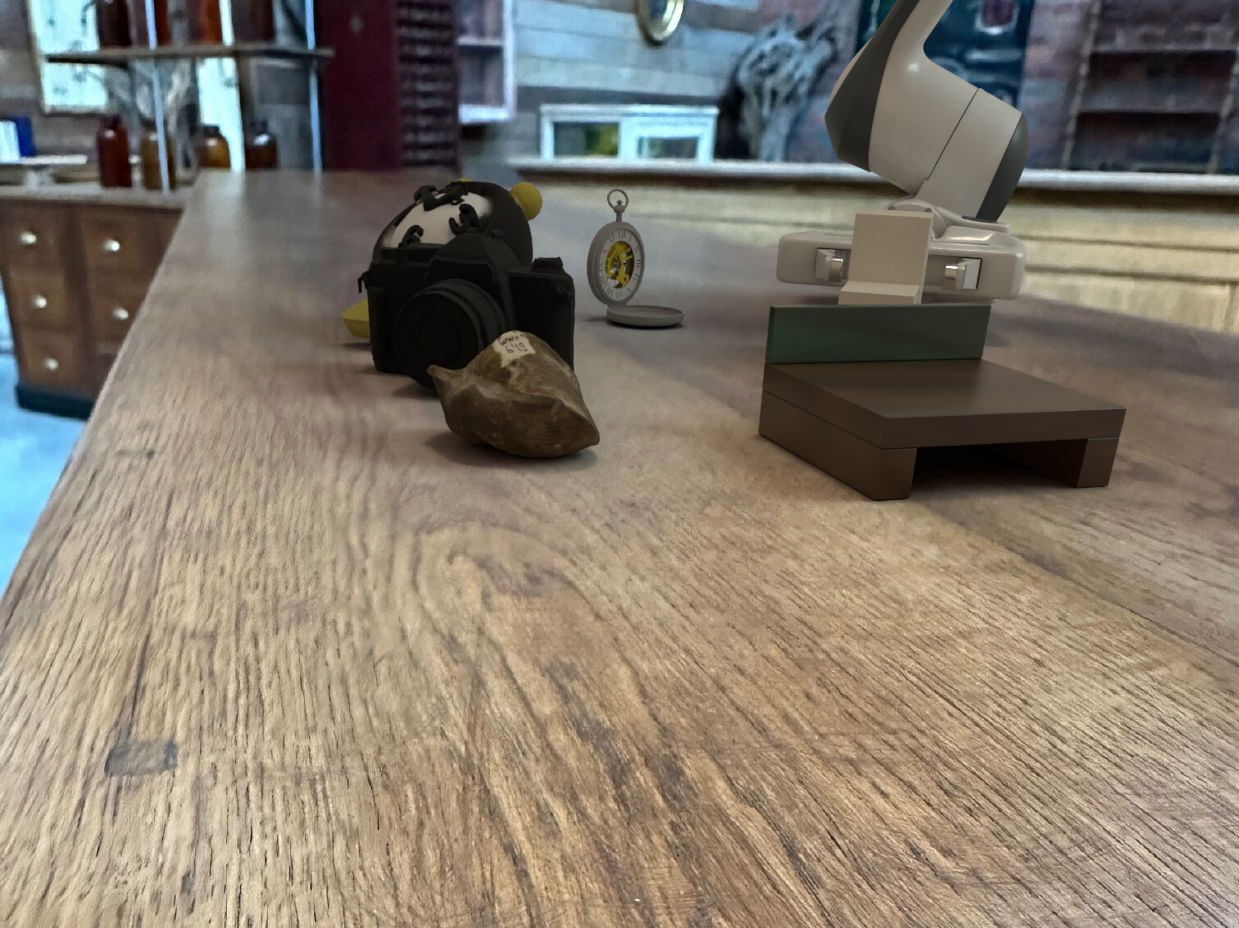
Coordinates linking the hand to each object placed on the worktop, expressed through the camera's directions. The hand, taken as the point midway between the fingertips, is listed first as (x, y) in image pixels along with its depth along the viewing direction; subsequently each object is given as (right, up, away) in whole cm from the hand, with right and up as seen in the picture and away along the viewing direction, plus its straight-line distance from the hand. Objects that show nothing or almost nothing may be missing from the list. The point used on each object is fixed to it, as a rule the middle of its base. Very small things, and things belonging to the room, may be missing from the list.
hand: (892, 274), depth 96 cm
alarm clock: (-35, -5, -1) cm, 35 cm away
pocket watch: (-20, 0, +9) cm, 22 cm away
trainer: (-2, -8, -4) cm, 9 cm away
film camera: (-32, -15, -16) cm, 39 cm away
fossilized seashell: (-27, -23, -30) cm, 47 cm away
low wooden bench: (-5, -23, -28) cm, 37 cm away
